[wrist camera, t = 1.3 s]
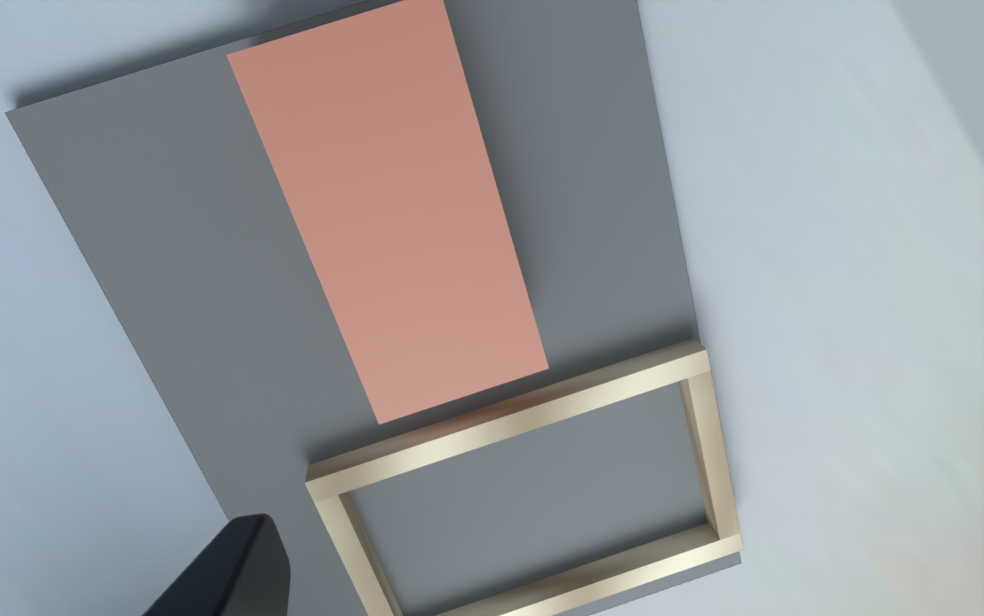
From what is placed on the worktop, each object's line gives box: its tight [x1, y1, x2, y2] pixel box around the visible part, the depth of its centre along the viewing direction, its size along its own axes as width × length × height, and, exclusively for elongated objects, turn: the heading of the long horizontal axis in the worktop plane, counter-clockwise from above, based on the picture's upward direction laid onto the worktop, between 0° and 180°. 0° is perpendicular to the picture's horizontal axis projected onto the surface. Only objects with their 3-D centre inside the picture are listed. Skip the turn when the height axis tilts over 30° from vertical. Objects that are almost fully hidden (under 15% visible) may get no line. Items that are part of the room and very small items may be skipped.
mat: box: [5, 0, 741, 616], centre depth 22 cm, size 17×23×1 cm
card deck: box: [227, 0, 549, 424], centre depth 18 cm, size 5×10×3 cm, turn 16°
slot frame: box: [305, 338, 743, 616], centre depth 23 cm, size 14×9×1 cm, turn 106°
